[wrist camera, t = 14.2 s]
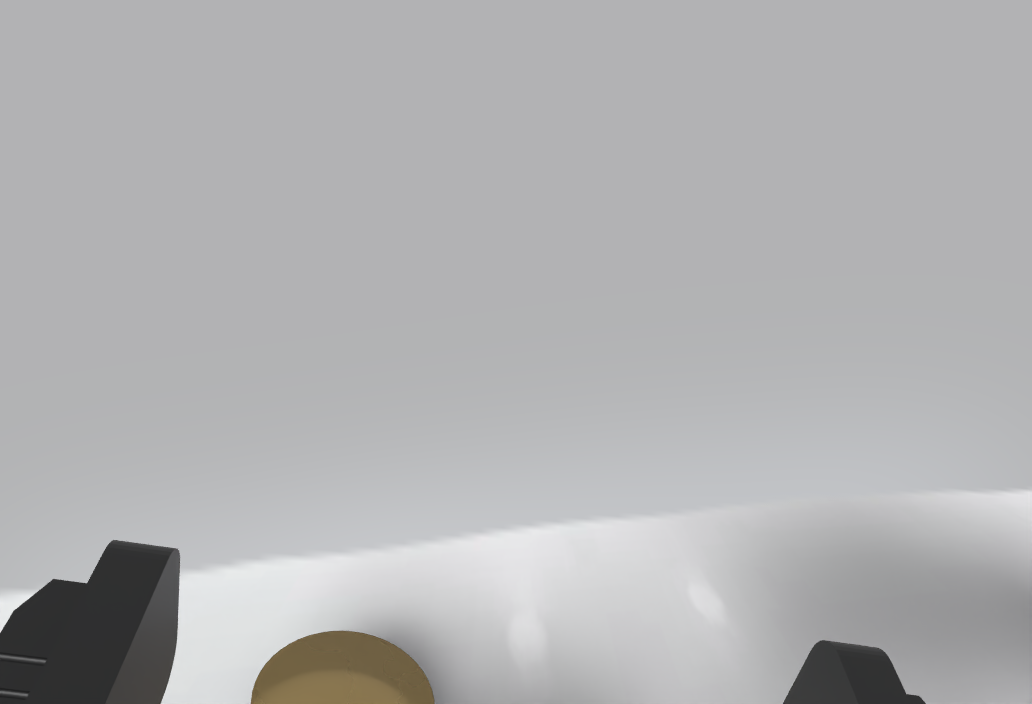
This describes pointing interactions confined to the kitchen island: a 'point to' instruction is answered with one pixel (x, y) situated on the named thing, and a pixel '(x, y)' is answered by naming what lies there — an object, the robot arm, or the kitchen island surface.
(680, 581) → the kitchen island surface
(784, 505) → the kitchen island surface
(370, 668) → the brass headed pin
